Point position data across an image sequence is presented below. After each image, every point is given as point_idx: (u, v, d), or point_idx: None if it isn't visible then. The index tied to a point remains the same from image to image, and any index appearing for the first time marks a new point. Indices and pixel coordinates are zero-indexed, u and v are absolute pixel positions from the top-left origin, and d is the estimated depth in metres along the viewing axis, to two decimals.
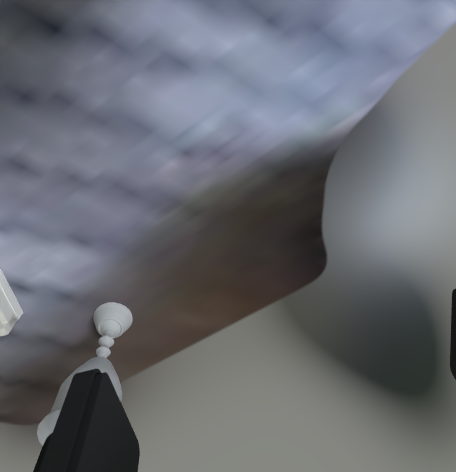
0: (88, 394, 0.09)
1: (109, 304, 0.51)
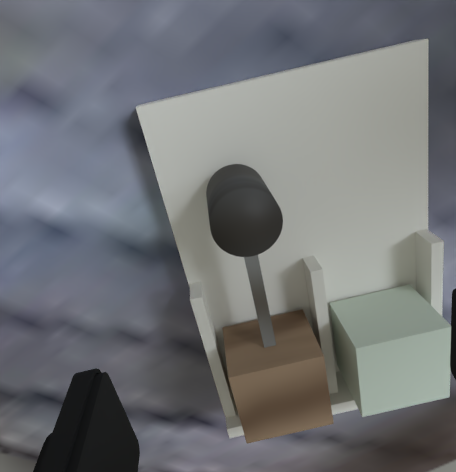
0: (88, 394, 0.09)
1: None
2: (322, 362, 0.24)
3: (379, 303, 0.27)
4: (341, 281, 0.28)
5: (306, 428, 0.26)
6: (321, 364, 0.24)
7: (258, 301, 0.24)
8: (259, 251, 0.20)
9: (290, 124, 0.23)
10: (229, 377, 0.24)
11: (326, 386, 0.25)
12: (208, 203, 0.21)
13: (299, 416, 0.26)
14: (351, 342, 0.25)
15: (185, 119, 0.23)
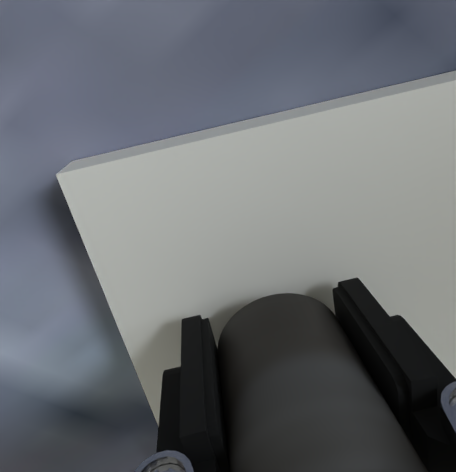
0: (201, 333, 0.10)
1: None
2: None
3: None
4: None
5: None
6: None
7: None
8: None
9: (398, 203, 0.11)
10: None
11: None
12: (227, 420, 0.09)
13: None
14: None
15: (171, 198, 0.10)
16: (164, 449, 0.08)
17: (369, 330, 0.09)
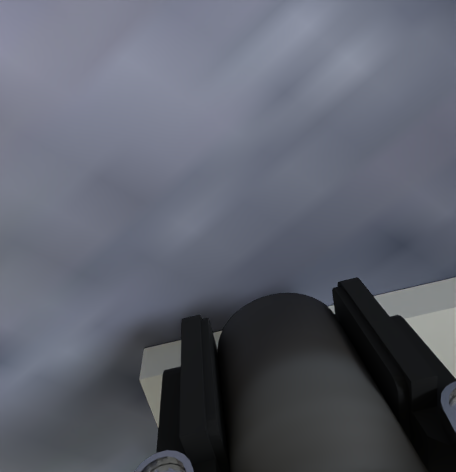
0: (201, 333, 0.10)
1: None
2: None
3: None
4: None
5: None
6: None
7: None
8: None
9: None
10: None
11: None
12: (227, 420, 0.08)
13: None
14: None
15: None
16: (164, 449, 0.08)
17: (369, 330, 0.09)
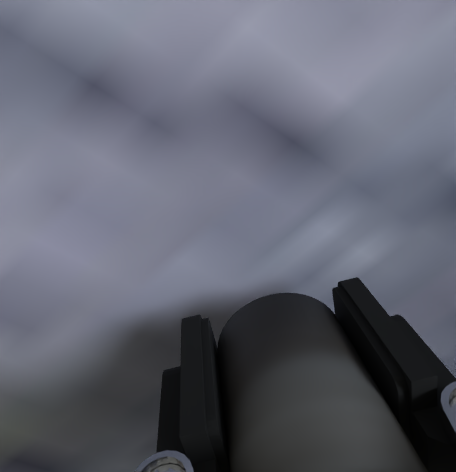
0: (201, 333, 0.10)
1: None
2: None
3: None
4: None
5: None
6: None
7: None
8: None
9: None
10: None
11: None
12: (227, 420, 0.08)
13: None
14: None
15: None
16: (164, 449, 0.08)
17: (369, 330, 0.09)
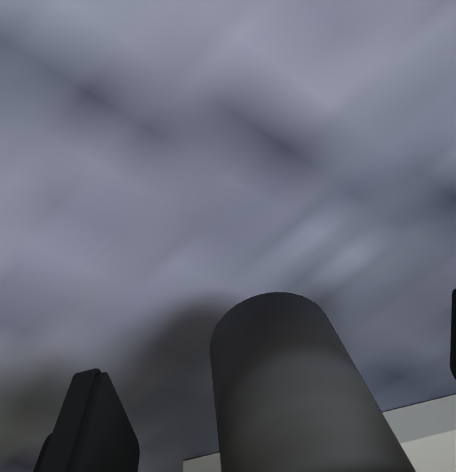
0: (88, 394, 0.09)
1: None
2: None
3: None
4: None
5: None
6: None
7: None
8: None
9: None
10: None
11: None
12: (218, 416, 0.09)
13: None
14: None
15: None
16: None
17: None
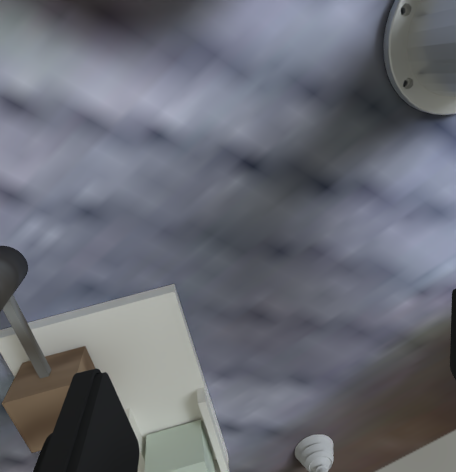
0: (88, 394, 0.09)
1: (315, 437, 0.48)
2: None
3: (174, 437, 0.41)
4: (153, 420, 0.42)
5: None
6: None
7: (25, 345, 0.33)
8: None
9: (96, 340, 0.37)
10: (2, 403, 0.32)
11: None
12: None
13: None
14: None
15: None
16: None
17: None
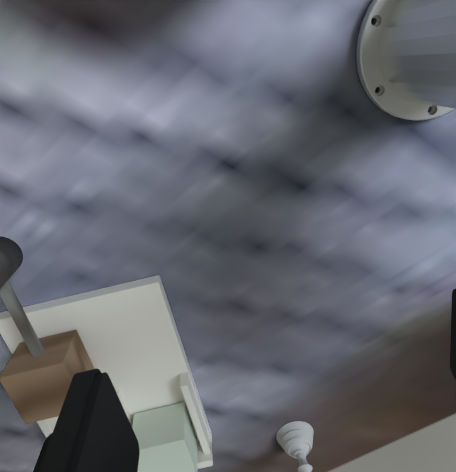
0: (88, 394, 0.09)
1: (295, 423, 0.51)
2: (62, 367, 0.36)
3: (159, 417, 0.44)
4: (140, 401, 0.45)
5: None
6: (62, 368, 0.36)
7: (19, 326, 0.36)
8: None
9: (87, 324, 0.41)
10: None
11: None
12: None
13: (58, 404, 0.38)
14: None
15: None
16: None
17: None
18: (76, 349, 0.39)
